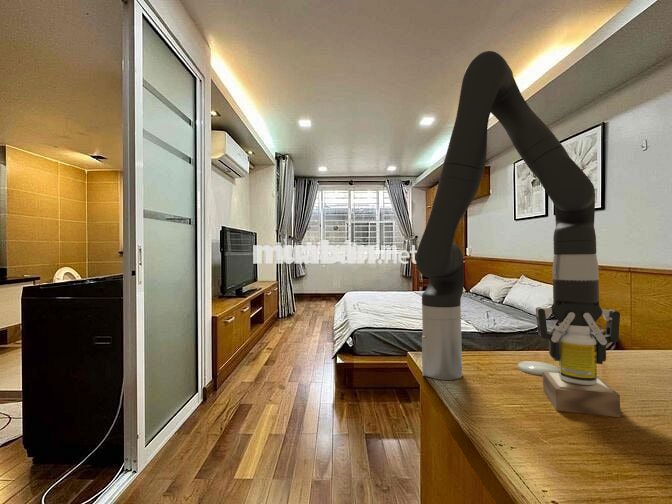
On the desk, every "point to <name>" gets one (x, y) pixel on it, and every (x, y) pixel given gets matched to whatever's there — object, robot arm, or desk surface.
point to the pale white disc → (537, 367)
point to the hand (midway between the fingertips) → (577, 361)
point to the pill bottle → (578, 356)
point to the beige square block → (581, 396)
